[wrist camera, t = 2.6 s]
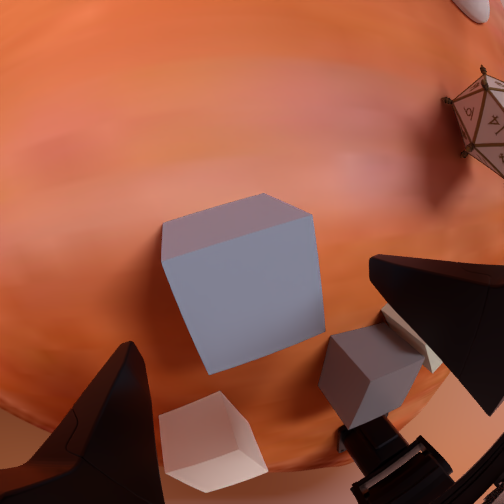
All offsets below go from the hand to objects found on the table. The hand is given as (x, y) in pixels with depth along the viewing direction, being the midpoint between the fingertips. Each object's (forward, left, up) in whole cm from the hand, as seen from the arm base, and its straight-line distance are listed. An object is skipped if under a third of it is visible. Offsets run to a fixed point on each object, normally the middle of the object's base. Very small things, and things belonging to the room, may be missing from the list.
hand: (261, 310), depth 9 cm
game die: (+5, -20, -6) cm, 21 cm away
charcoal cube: (-11, -7, -5) cm, 14 cm away
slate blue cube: (0, 0, -5) cm, 5 cm away
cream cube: (-12, +5, -5) cm, 14 cm away
